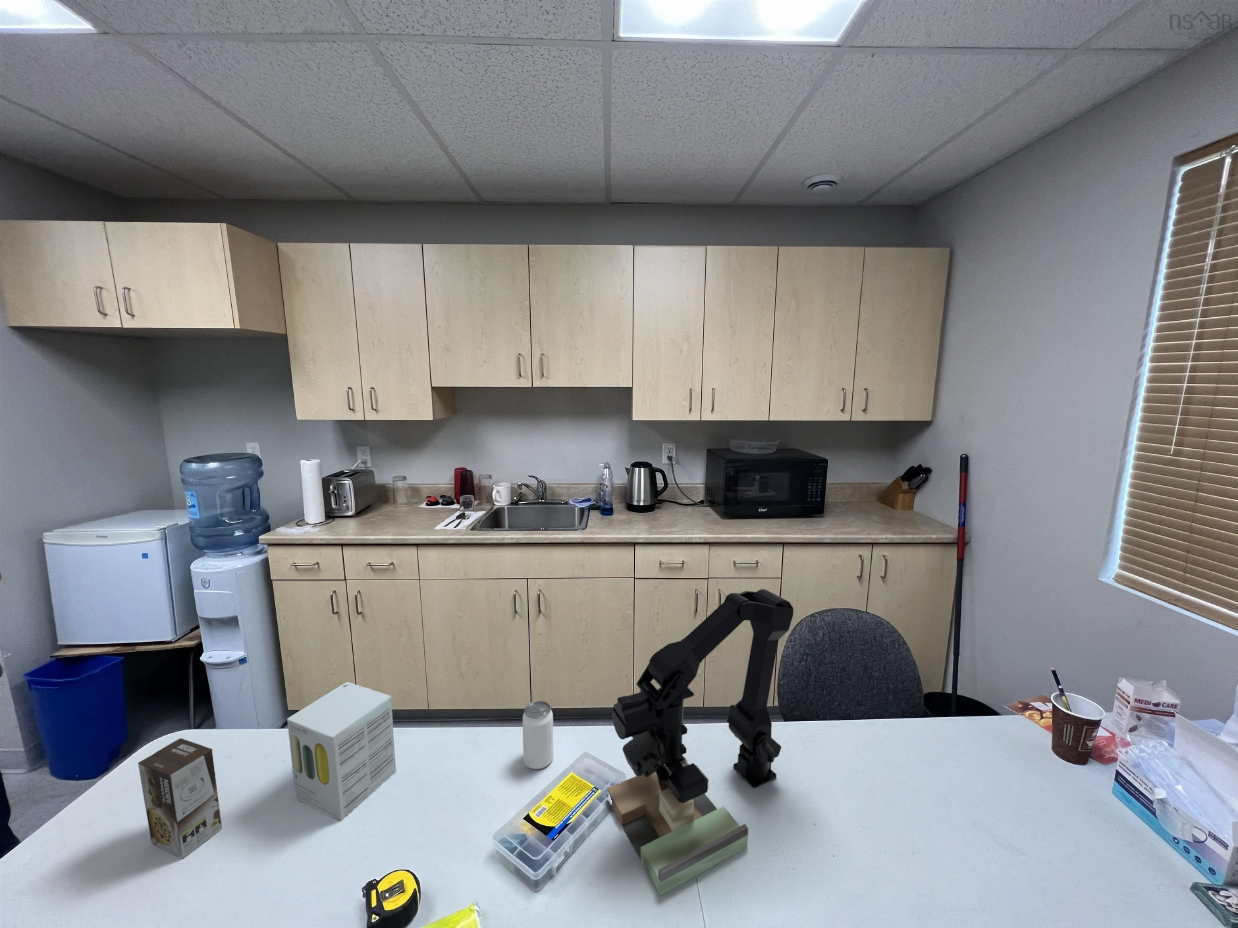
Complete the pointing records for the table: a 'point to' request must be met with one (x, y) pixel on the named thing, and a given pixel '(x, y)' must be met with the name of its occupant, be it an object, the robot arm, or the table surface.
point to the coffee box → (180, 796)
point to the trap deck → (674, 833)
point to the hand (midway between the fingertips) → (665, 793)
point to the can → (538, 735)
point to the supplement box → (342, 748)
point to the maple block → (675, 810)
